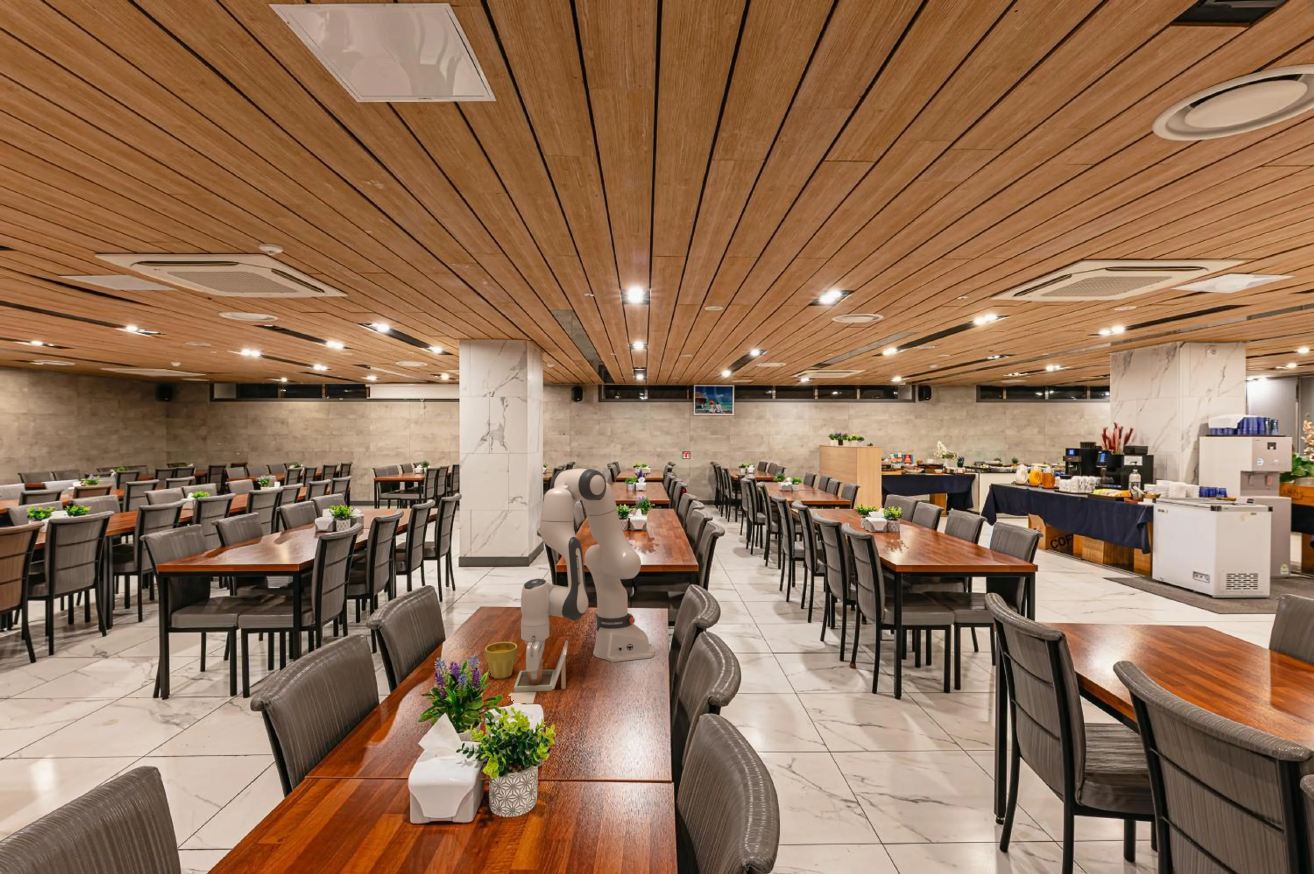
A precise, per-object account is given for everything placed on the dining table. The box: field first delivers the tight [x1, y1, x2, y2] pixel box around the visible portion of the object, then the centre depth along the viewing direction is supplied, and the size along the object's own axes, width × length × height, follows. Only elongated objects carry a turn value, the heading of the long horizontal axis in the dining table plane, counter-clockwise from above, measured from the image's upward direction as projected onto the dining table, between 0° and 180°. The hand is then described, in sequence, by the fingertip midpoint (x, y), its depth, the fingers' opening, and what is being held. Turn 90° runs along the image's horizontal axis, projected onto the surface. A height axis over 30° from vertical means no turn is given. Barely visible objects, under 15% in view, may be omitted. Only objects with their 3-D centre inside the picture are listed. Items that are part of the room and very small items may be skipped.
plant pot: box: [484, 641, 518, 680], centre depth 201 cm, size 10×10×10 cm
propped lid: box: [552, 640, 569, 690], centre depth 194 cm, size 4×14×12 cm, turn 5°
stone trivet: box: [507, 691, 537, 705], centre depth 181 cm, size 8×8×1 cm
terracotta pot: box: [528, 657, 544, 685], centre depth 194 cm, size 5×5×7 cm
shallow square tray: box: [513, 668, 556, 693], centre depth 194 cm, size 12×14×2 cm
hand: (535, 675), depth 194 cm, fingers closed on terracotta pot, 4 cm apart
